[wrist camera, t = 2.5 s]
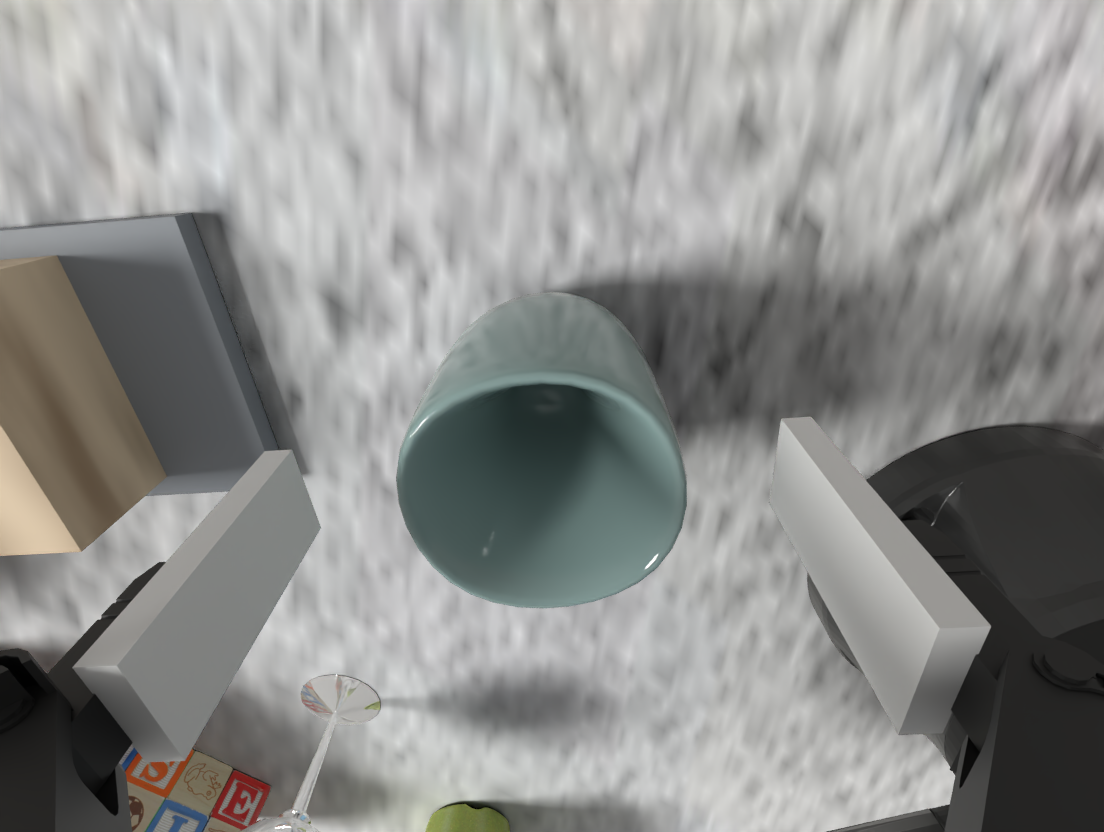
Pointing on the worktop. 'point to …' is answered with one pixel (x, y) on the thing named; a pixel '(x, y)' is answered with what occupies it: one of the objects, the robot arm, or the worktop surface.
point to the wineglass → (323, 740)
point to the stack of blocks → (190, 795)
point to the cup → (543, 458)
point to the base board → (163, 340)
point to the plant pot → (467, 820)
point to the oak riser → (61, 419)
